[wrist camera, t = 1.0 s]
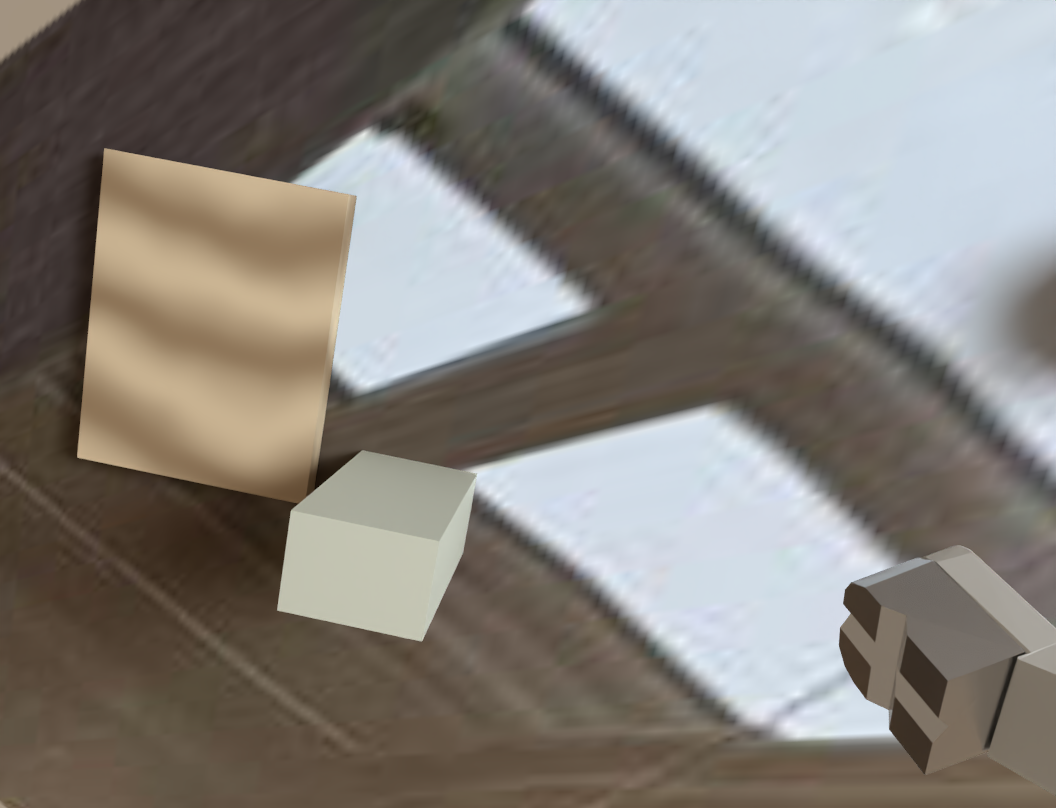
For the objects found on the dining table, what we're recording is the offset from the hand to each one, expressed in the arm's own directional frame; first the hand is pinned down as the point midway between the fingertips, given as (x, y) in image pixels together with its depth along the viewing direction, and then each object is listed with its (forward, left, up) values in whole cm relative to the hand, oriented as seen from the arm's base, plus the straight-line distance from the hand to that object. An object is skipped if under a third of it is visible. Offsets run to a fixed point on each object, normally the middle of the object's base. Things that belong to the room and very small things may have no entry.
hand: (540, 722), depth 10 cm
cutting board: (+3, -22, -40) cm, 46 cm away
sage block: (+11, -9, -40) cm, 43 cm away
